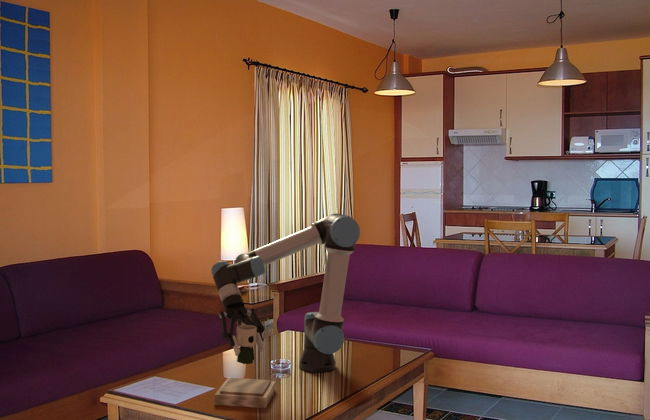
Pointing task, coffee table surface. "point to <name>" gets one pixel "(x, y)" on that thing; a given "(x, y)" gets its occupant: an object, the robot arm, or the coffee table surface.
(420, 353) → the coffee table surface
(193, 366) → the coffee table surface
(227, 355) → the coffee table surface
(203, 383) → the coffee table surface
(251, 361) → the character mug
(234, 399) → the birch plinth
